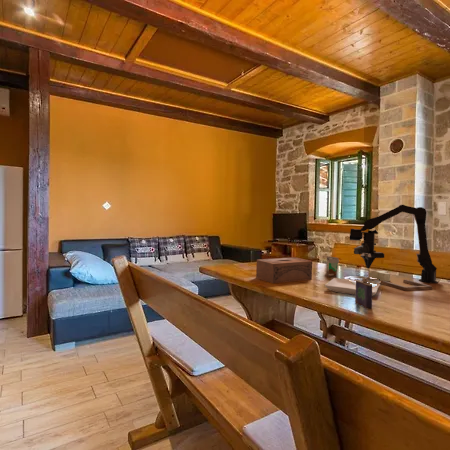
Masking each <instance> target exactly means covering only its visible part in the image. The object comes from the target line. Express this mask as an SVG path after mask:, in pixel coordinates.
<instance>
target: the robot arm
mask: <svg viewBox="0 0 450 450" xmlns="http://www.w3.org/2000/svg"><path fill="white" fill-rule="evenodd" d="M402 213H407V214H408V215H413V217H414V222H415V223H416V229H417V237H418V239H417V240H418V247H419V252H418V253H415V254H416V261H417V263H418V264H419V265H420V266H421V267H422V269H421V274H420V279H418V281H419V282H424V283H428V284H434V283H439V281H437V269H438V268H437V267H436V266H435V264H433V261H432V257H431V255H430V252H429V248H428V240H427V239H428V238H427V231H426V221H427V210H426V208H424V207H423V206H419V207H413V206H410V205H409V206H408V205H405V204H400V205H399V206H397V207H395V208H393V209H391V210H389V211H387V212H384V213H383V214H380V215H379V216H375V217H372V218H369V219H366V220H365V221H364V222H363V226H362V227H361V228H359V229H357V228H350V231H349V241H358V242H361V240H362V239H363V242H361V245H358V246H356V247H354V248H353V255H359V256H360V258H362V259H363V261H364V264H365V266H366V267H365V268H366V269H367V270H368V269H370V268H371V266H372V265H373V263H374V261H375V260H376V259H385V253H384V252H380V251H377V250H375V246H377V243H375V237H376V236H375V235H377V234H379V232H378V230H377V229H375V228H376V227H377V226H378V225H380V224H381V223H383V222H384V221H386V220H388V219H389V220H390V219H391V218H393V217H395V216H397V215H399V214H402ZM367 230H368V231H367Z"/></svg>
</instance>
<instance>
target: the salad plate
mask: <svg viewBox="0 0 450 450" xmlns="http://www.w3.org/2000/svg"><path fill="white" fill-rule="evenodd" d="M349 280H350V279H348V278H337V277H333V278H331V280H329V281H328V282H327V283H325V284H324V287H325V288H326V289H328V290H329V291H333V292H335V293H342V294H347V295H348V294H349V295H353V296H354V295H356V285H353V284H351V283H350V282H349ZM353 280H354V281H356V280H357V279H353ZM375 283H376V284H377V286H375V287H372V297H373V296H375V295H376V293H378V289H379V287H380V286H381V284H380V282H375Z"/></svg>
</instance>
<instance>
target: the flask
mask: <svg viewBox="0 0 450 450" xmlns="http://www.w3.org/2000/svg"><path fill="white" fill-rule="evenodd" d="M361 279H362V280H359V279H355V280H356V295H355V296H354V297H355V298H354V303H355V304H357V305H359V306H361V307H363V308H365V309H368V310H372V309H373V296H372V284H370V283H367V282H369V281H368V279H369V277H362V278H361Z"/></svg>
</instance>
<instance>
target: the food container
mask: <svg viewBox="0 0 450 450" xmlns="http://www.w3.org/2000/svg"><path fill="white" fill-rule="evenodd" d="M339 263H340V260H339V257H334V256H326V273H325V274H326V275H327V277H328V278H337V274H338V266H339Z"/></svg>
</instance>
